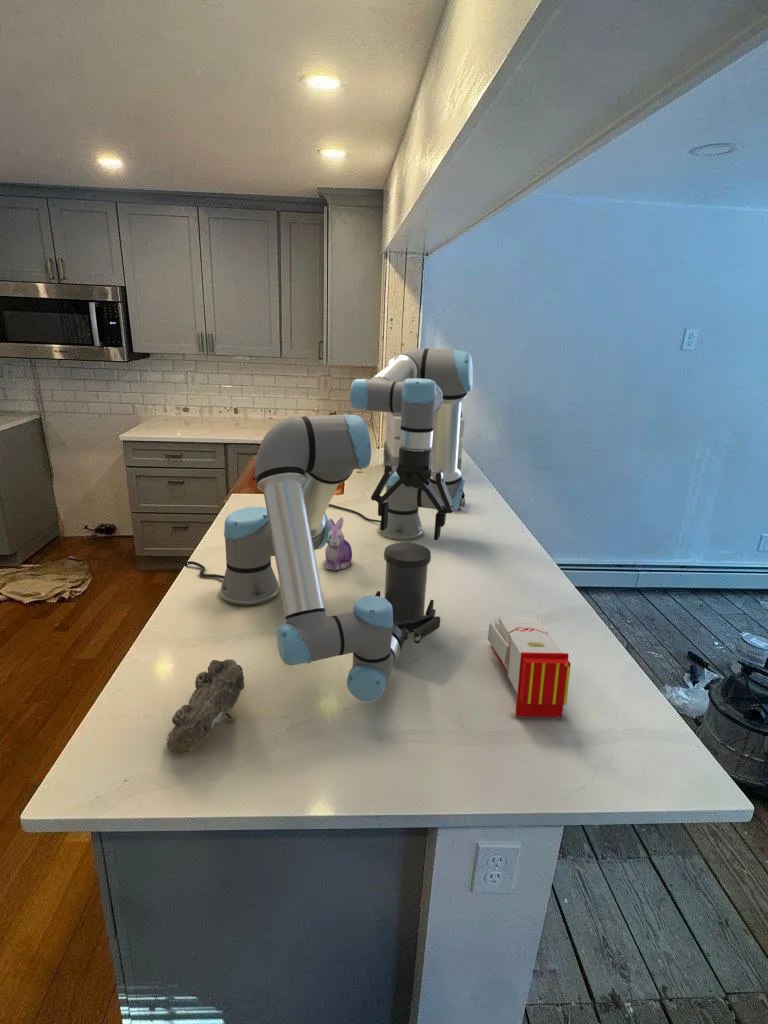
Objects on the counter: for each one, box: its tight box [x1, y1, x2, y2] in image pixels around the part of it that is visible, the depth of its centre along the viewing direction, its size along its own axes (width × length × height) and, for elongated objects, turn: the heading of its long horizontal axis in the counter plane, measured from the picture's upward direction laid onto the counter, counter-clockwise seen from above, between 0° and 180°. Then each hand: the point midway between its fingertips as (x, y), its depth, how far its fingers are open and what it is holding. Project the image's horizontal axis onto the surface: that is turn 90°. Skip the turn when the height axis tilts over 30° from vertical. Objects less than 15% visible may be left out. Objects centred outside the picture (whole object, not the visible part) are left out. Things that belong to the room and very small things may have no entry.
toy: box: [487, 616, 572, 718], centre depth 123 cm, size 12×13×30 cm
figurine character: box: [457, 490, 466, 511], centre depth 229 cm, size 7×8×15 cm
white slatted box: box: [383, 411, 465, 473], centre depth 268 cm, size 34×33×41 cm
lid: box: [383, 542, 432, 568], centre depth 139 cm, size 12×12×2 cm
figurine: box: [324, 517, 353, 571], centre depth 171 cm, size 9×10×15 cm
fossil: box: [166, 658, 245, 754], centre depth 106 cm, size 22×10×15 cm
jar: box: [384, 561, 429, 621], centre depth 142 cm, size 10×10×18 cm
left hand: (405, 600), depth 142 cm, fingers open, 13 cm apart
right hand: (410, 533), depth 138 cm, fingers open, 13 cm apart
